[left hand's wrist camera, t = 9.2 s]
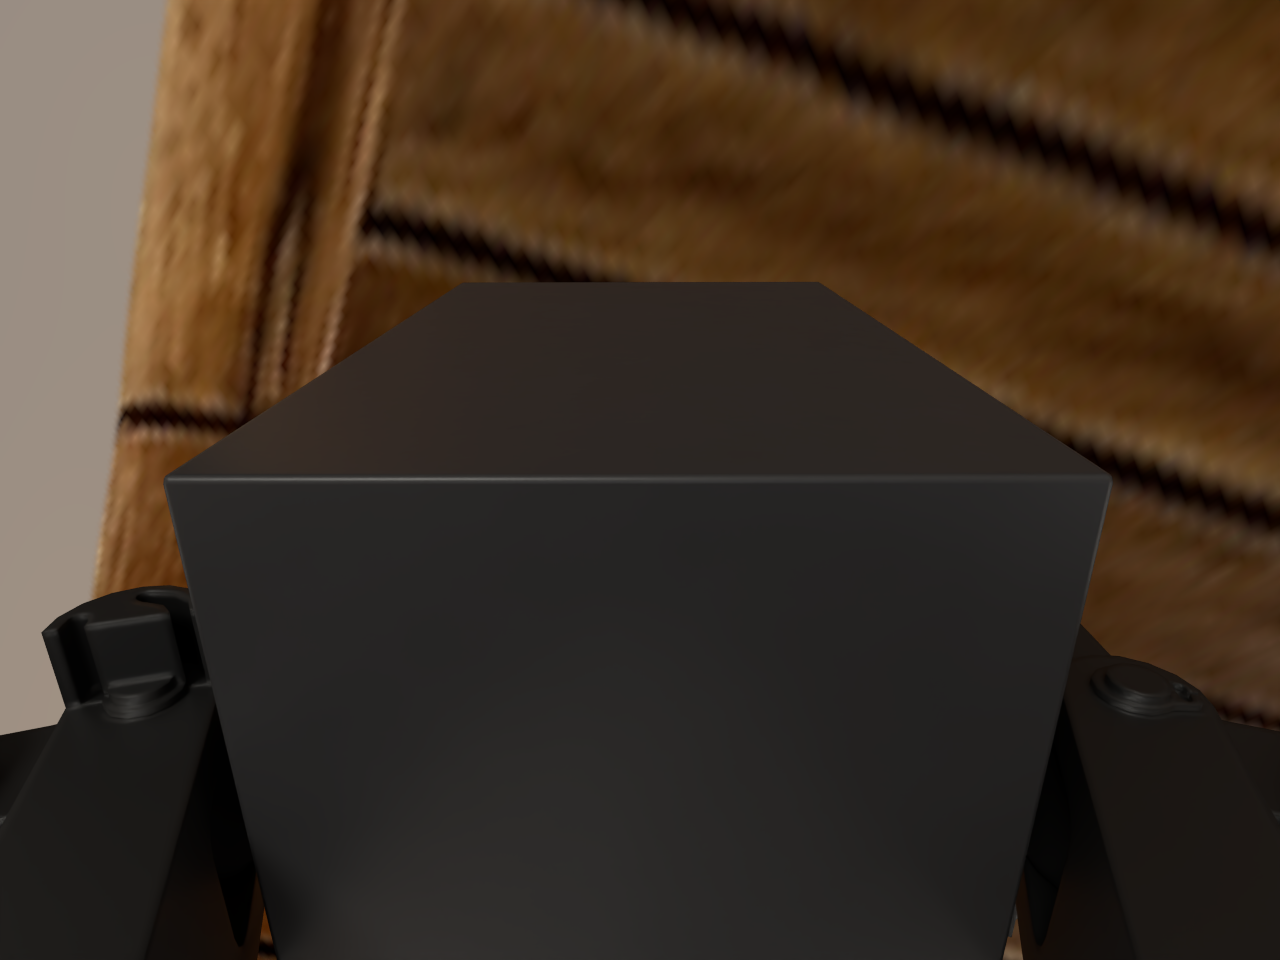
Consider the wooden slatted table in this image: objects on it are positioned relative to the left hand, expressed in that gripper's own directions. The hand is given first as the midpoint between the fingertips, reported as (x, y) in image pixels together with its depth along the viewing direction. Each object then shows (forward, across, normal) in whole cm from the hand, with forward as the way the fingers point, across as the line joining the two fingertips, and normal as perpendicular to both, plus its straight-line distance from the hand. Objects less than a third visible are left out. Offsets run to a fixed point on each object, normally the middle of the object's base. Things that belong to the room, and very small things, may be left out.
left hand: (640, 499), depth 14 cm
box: (+1, 0, -7) cm, 7 cm away
